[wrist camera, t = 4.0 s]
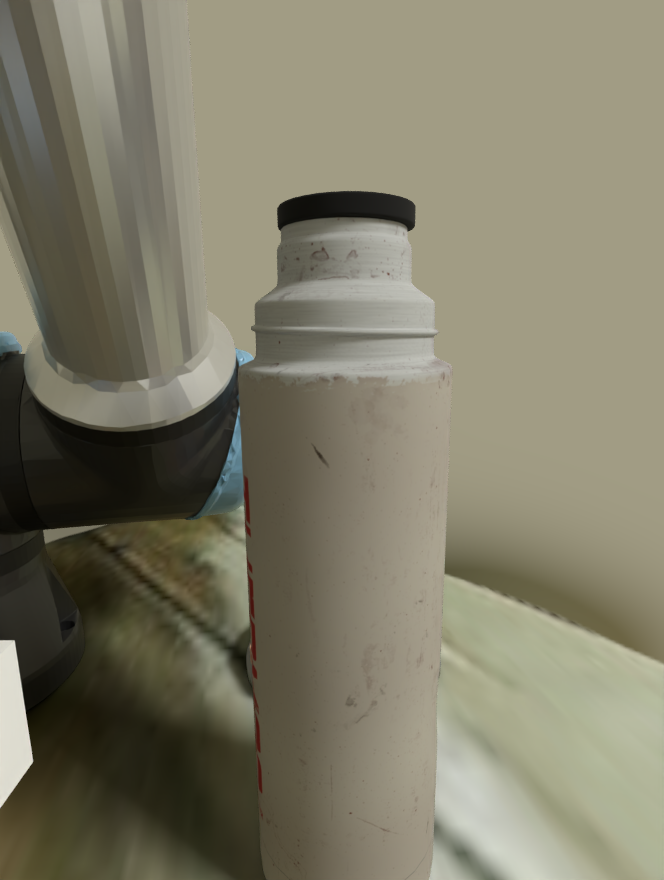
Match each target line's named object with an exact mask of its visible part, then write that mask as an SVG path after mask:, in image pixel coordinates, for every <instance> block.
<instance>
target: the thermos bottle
mask: <svg viewBox="0 0 664 880" xmlns="http://www.w3.org/2000/svg"><path fill="white" fill-rule="evenodd" d="M277 215H278V228H279V230H280V231H281V243H280V245H279V247H278V249H277V270H278V284H277V286H276V288H274V289H273V290H272V291H271V292H269V293H268V294H267V295H265V296H264V297H263V298H262V299H260V300H259V301H258V302H257V303H256V304H255V325H254V326H252V327H251V330H253V331H255V333H256V357H255V358H254V359H253V360H251V361H249V362H247V363H245V364H243V365H241V366H239V368H238V386H239V407H240V428H241V449H242V470H243V490H244V511H245V532H246V553H247V574H248V595H249V616H250V637H251V658H252V679H253V700H254V721H255V742H256V763H257V784H258V805H259V826H260V847H261V858H262V866H263V872H264V875H265V878H266V880H429V877H430V871H431V865H432V858H433V835H434V810H435V786H436V761H437V717H436V714H437V689H438V679H439V669H440V657H441V639H442V615H443V591H444V565H445V564H444V563H445V541H446V517H447V493H448V469H449V444H450V419H451V394H452V367H451V365H450V364H448V363H447V362H444V361H442V360H439V359H438V358H436V357H435V356H434V335H437V334H438V330H436V329H434V326H435V303H434V301H433V300H432V299H430V298H429V297H428V296H426V295H425V294H423V293H422V292H421V291H419V290H418V289H416V288H415V287H414V286H413V285H412V282H411V250H412V249H411V246H410V244H409V242H408V240H407V232H408V231H410V230H412V229H413V228H414V226H415V205H414V203H413V202H412V201H410V200H408V199H406V198H403V197H400V196H395V195H390V194H384V193H376V192H362V191H340V192H326V193H316V194H310V195H304V196H300V197H295V198H292V199H289V200H287V201H285V202H283V203H281V204H280V205H279V207H278V208H277Z"/></svg>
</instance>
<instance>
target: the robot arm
mask: <svg viewBox="0 0 664 880" xmlns="http://www.w3.org/2000/svg"><path fill="white" fill-rule="evenodd" d="M193 103H194V102H193V88H192V72H191V57H190V41H189V27H188V12H187V0H0V226H1V229H2V231H3V234H4V237H5V240H6V242H7V244H8V247H9V250H10V252H11V255H12V258H13V260H14V263H15V266H16V268H17V271H18V274H19V276H20V279H21V281H22V284H23V287H24V289H25V291H26V294H27V297H28V300H29V302H30V305H31V307H32V310H33V313H34V315H35V318H36V321H37V323H38V326H39V329H40V330H39V331H38V332H37V333H36V335H35V336H34V337H33V339H32V341H31V342H30V344H29V346H28V348H27V351H26V354H20V353H21V352H22V348H21V345H20V344H19V343H18V342H17V339H16V337H15V336H14V335H13V334H12V333H9V332H0V808H1V806H2V805H3V803H4V802H5V801H6V799H7V798H8V796H9V795H10V794H11V792H12V791H13V789H14V788H15V787H16V785H17V784H18V782H19V781H20V780H21V778H22V777H23V775H24V774H25V773H26V771H27V770H28V768H29V767H30V766H31V764H32V763H33V757H32V750H31V744H30V737H29V731H28V724H27V718H26V711H27V710H29V709H30V708H32V707H33V706H35V705H36V704H38V703H39V702H41V701H42V700H43V699H45V698H46V697H47V696H49V695H50V694H51V693H52V692H53V691H55V690H56V689H57V688H58V687H59V686H60V685H61V684H62V683H63V682H64V681H65V680H66V679H67V678H68V677H69V676H70V675H71V673H72V672H73V671H74V669H75V668H76V667H77V665H78V663H79V662H80V660H81V658H82V655H83V652H84V648H85V639H84V631H83V624H82V617H81V614H80V611H79V609H78V607H77V605H76V603H75V601H74V600H73V598H72V596H71V594H70V593H69V591H68V589H67V587H66V586H65V584H64V582H63V580H62V579H61V577H60V575H59V573H58V572H57V570H56V568H55V566H54V565H53V563H52V561H51V559H50V558H49V556H48V554H47V551H46V547H45V542H44V534H43V530H45V529H57V528H68V527H80V526H92V525H104V524H116V523H128V522H143V521H157V520H171V519H186V520H195V519H198V518H201V517H202V516H206V515H213V514H220V513H227V512H231V511H234V510H236V509H237V508H239V507H240V506H241V505H242V504H243V503H244V490H243V470H242V449H241V428H240V407H239V386H238V368H239V366H241V365H243V364H245V363H247V362H249V361H251V360H253V359H254V358H253V357H252V355H251V354H250V353H248V352H246V351H243V350H238V349H237V348H235V344H234V341H233V339H232V336H231V334H230V332H229V330H228V329H227V327H226V326H225V325H224V324H223V323H222V321H221V320H220V319H218V318H217V317H216V316H215V315H214V314H212V313H211V312H210V311H208V310H207V295H206V281H205V267H204V251H203V237H202V221H201V206H200V193H199V192H200V191H199V177H198V162H197V148H196V132H195V117H194V104H193Z"/></svg>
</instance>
